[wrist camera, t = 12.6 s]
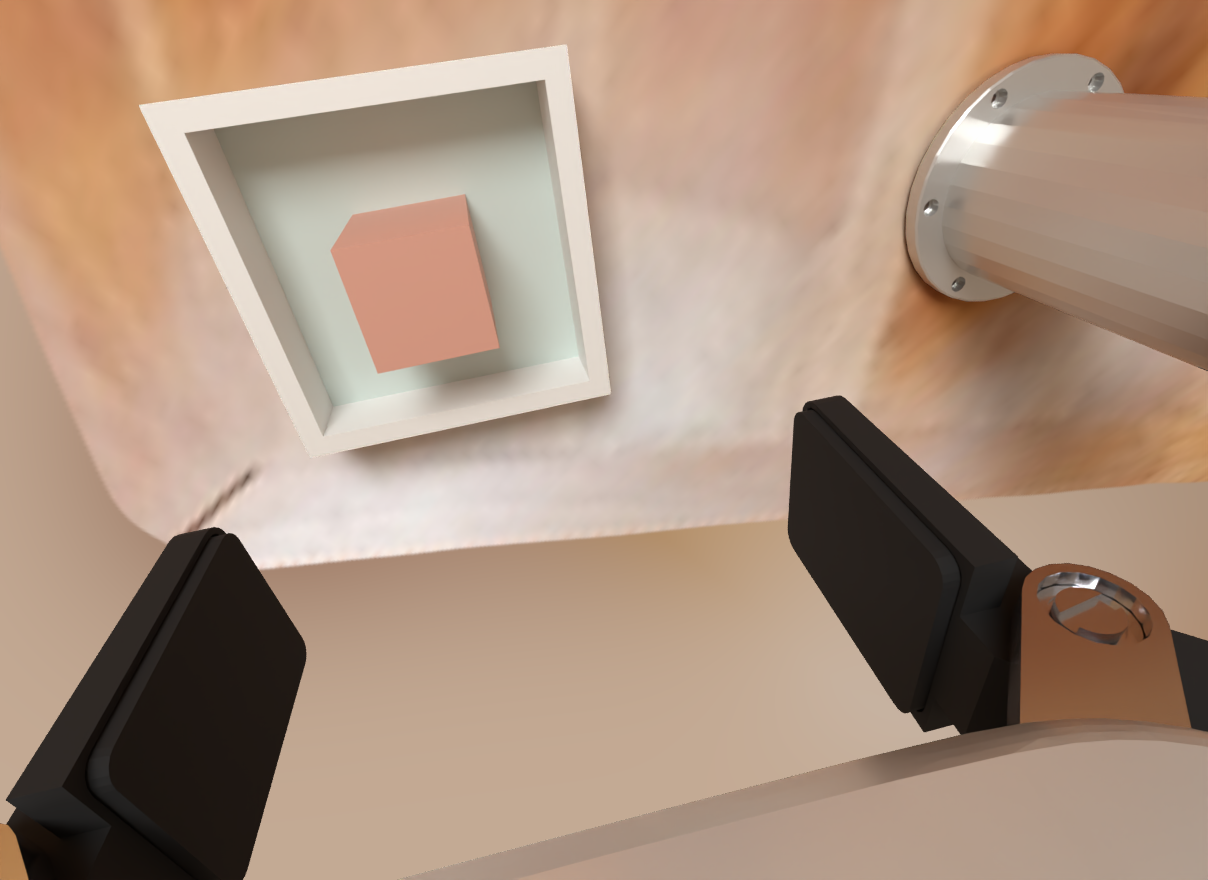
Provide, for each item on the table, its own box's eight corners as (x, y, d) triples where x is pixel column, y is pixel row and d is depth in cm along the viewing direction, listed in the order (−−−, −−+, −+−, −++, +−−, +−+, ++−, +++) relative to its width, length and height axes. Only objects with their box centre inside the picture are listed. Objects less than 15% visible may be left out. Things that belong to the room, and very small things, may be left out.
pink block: (465, 194, 27) (468, 224, 22) (491, 299, 30) (499, 347, 25) (352, 214, 26) (330, 250, 21) (389, 320, 29) (377, 374, 24)
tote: (551, 46, 25) (566, 44, 22) (595, 361, 34) (611, 394, 30) (181, 99, 24) (138, 104, 20) (324, 417, 32) (310, 458, 29)
